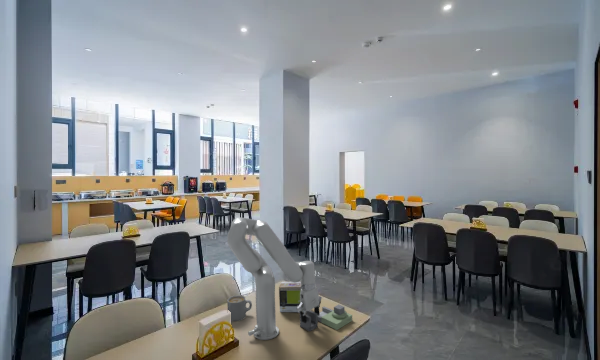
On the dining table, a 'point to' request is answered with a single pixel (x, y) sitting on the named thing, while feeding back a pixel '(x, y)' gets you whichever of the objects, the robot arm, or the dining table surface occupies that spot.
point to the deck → (335, 321)
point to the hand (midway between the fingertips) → (310, 318)
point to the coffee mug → (238, 307)
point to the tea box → (289, 296)
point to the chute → (309, 321)
